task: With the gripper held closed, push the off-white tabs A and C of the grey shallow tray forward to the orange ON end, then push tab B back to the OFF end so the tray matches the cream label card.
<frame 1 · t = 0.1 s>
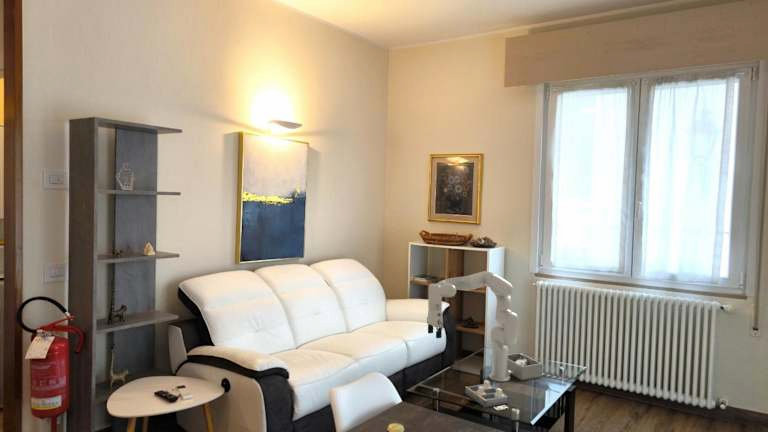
hand: (434, 335, 304), 31 cm above the table, fingers open, 9 cm apart
grey shallow tray: (486, 397, 294), on the table
tab A: (486, 385, 301), point 4 cm above the table, slide at 0.3 cm
camera: (521, 372, 333), resting in grey open bin
label card: (501, 407, 281), on the table
grey open bin: (520, 372, 333), on the table
tab B: (481, 391, 292), point 4 cm above the table, slide at 8.0 cm
tab C: (499, 393, 290), point 4 cm above the table, slide at 0.3 cm
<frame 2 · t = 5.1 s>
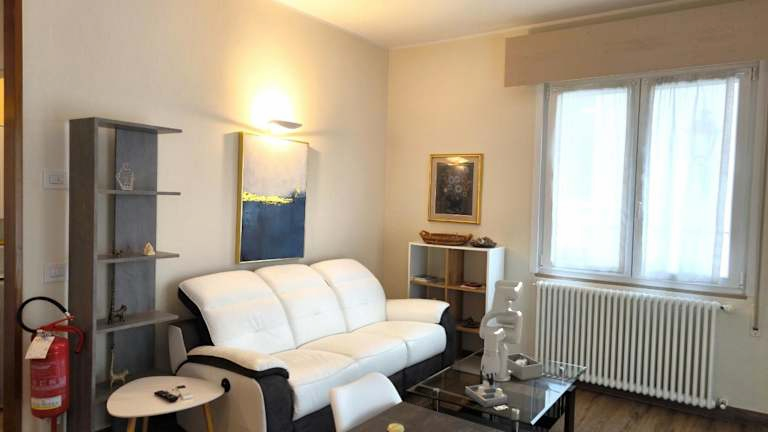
hand: (490, 384, 301), 5 cm above the table, fingers closed
tab A: (485, 385, 300), point 4 cm above the table, slide at 0.9 cm, touching gripper
everything else where it was.
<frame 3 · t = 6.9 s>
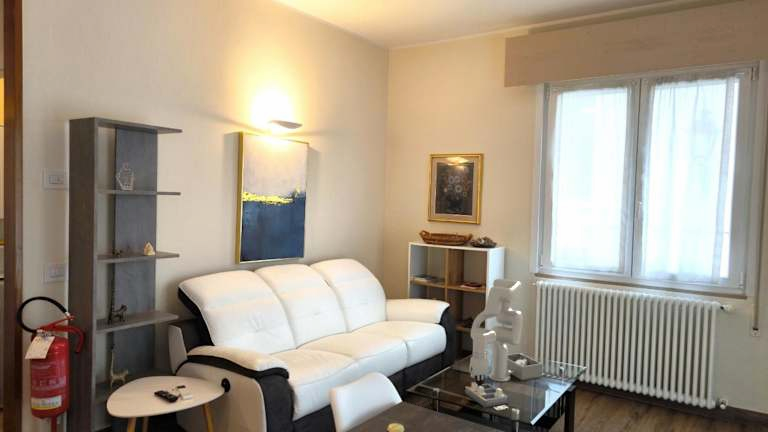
hand: (478, 386, 298), 4 cm above the table, fingers closed
tab A: (474, 387, 297), point 4 cm above the table, slide at 8.4 cm, touching gripper
everything else where it was.
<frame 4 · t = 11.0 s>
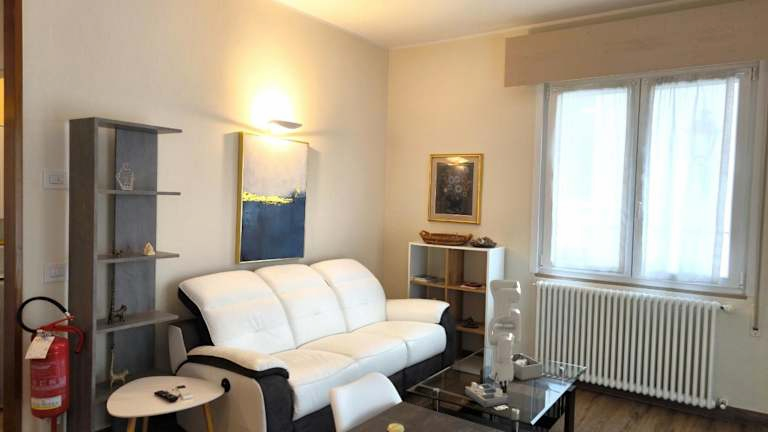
hand: (503, 392, 291), 4 cm above the table, fingers closed
tab A: (474, 387, 297), point 4 cm above the table, slide at 8.4 cm
tab C: (499, 393, 290), point 4 cm above the table, slide at 0.3 cm, touching gripper
everything else where it was.
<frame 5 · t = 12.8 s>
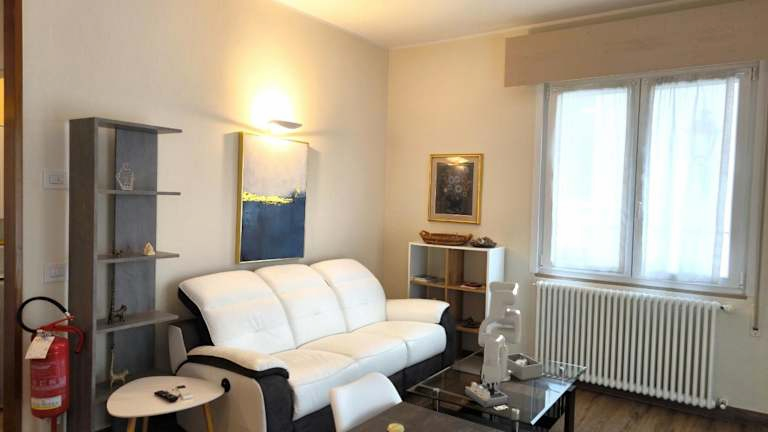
hand: (491, 394, 287), 4 cm above the table, fingers closed
tab C: (486, 395, 286), point 4 cm above the table, slide at 8.4 cm, touching gripper
everything else where it was.
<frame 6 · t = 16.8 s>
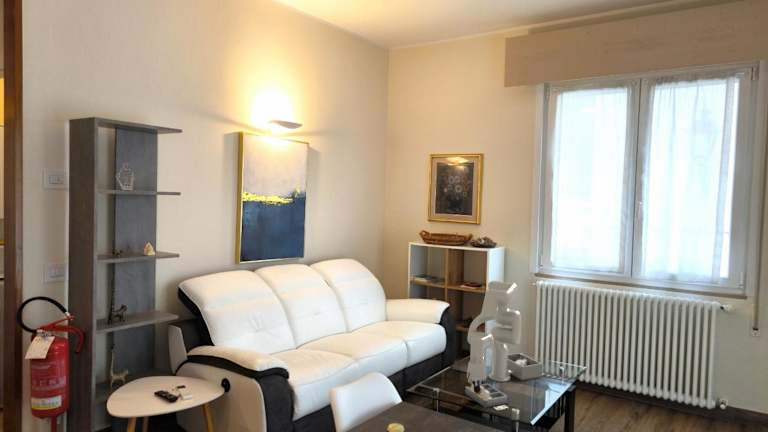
hand: (476, 392, 291), 4 cm above the table, fingers closed
tab B: (481, 391, 292), point 4 cm above the table, slide at 7.8 cm, touching gripper
tab C: (486, 395, 286), point 4 cm above the table, slide at 8.4 cm
everything else where it was.
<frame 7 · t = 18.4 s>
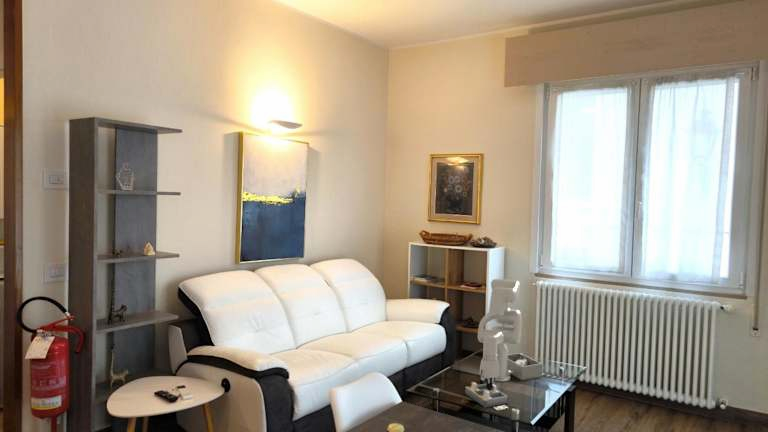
hand: (489, 389, 294), 5 cm above the table, fingers closed
tab B: (493, 389, 295), point 4 cm above the table, slide at 0.0 cm, touching gripper, grey shallow tray
everything else where it was.
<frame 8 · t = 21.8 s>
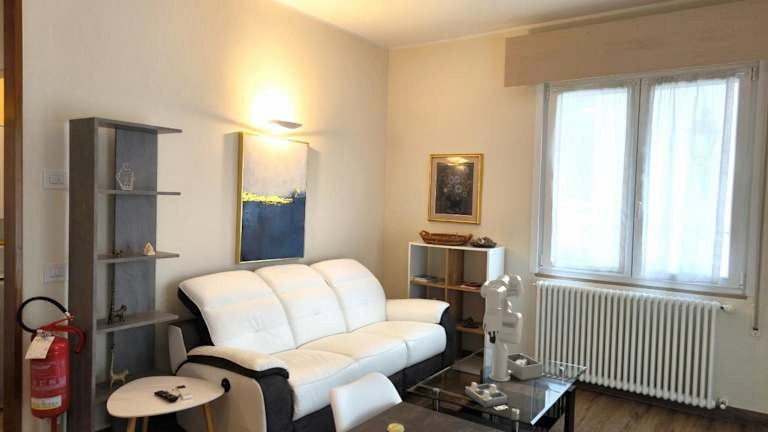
hand: (492, 342, 298), 29 cm above the table, fingers closed
tab B: (493, 389, 295), point 4 cm above the table, slide at 0.0 cm
everything else where it was.
at the end: tab A slide at 8.4 cm; tab C slide at 8.4 cm; tab B slide at 0.0 cm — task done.
